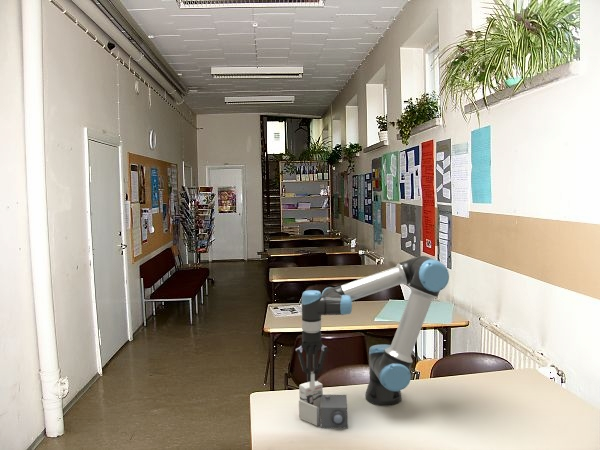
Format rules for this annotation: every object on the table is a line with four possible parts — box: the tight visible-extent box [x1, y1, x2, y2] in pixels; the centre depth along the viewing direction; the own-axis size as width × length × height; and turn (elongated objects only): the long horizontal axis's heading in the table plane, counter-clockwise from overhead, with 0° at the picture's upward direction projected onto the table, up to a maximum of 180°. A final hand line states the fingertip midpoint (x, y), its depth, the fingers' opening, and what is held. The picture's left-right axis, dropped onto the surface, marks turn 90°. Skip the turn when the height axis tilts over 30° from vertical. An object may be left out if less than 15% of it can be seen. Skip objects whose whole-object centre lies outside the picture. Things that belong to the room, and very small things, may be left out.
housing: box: [320, 394, 349, 429], centre depth 196 cm, size 10×14×9 cm
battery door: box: [298, 399, 321, 427], centre depth 196 cm, size 1×11×7 cm, turn 44°
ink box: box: [298, 380, 324, 408], centre depth 206 cm, size 8×5×12 cm, turn 123°
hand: (312, 388), depth 200 cm, fingers closed
